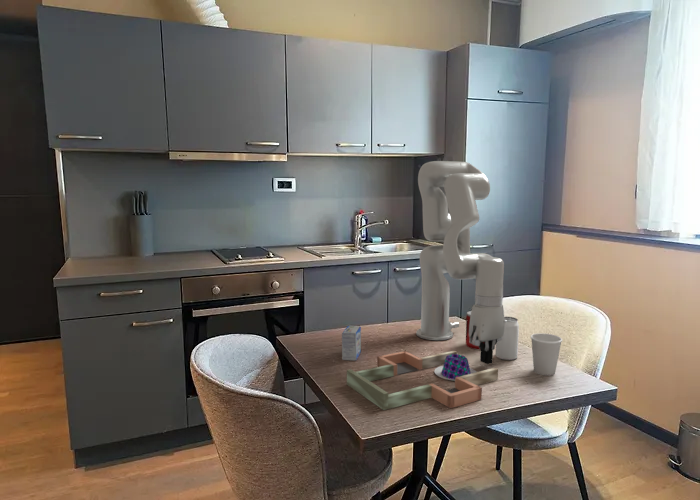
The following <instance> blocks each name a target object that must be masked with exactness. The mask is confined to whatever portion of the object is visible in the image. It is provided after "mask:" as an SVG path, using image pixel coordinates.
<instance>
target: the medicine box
mask: <svg viewBox="0 0 700 500" xmlns="http://www.w3.org/2000/svg"><path fill="white" fill-rule="evenodd" d="M361 339H362V327H361V326H359V325H347V326H346V327H345V329H344V330H343V331H342V332H341V359H342V361H351V362H352V361H354V362H356V361H357V360H358V358H359V356H360V354H361V351H362V350H361V349H362V348H361V347H362V340H361Z"/></svg>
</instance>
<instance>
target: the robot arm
mask: <svg viewBox="0 0 700 500" xmlns="http://www.w3.org/2000/svg"><path fill="white" fill-rule="evenodd" d="M417 175H418V176H417V183H418V184H417V185H418V189H419V192H420V196H421V201H422V202H421V203H422V228H423V229H422V230H423V235H424V238H425V239H426V240H427V241H430V242H443V244H440V245H439V244H438V245H428V246H426V247H424V248H423V249H422V250H421V251H420V253H419V266H420V271H421V305H420V306H421V307H420V309H421V311H420V312H421V314H420V315H421V316H420V328H418V329H417V330H416V336H417V337H419V338H421V339H423V340H428V341H445V340H450V339H452V338H453V337H454V333H453V331H452V329H456V328H459V326H460V324H459V322H458V321H455V322H454V321H453V322H451V321H450V295H451V293H450V288H451V287H450V283H449V281H448V279H447V278H446V276H445V275H444V274H447V273H448V275H449V277H450V278H452V279H454V280H473V279H475V292H474V294H475V295H474V304H473V305H472V308H471V310H470V311H471V316H470V324H469V337H470V338H473V340H472V344H473V345H475V346H479V348H480V349H479V350H480V353H479V354H480V358H479V362H481V363H484V364H485V365H490V364H493V357H494V355H493V354H494V353H493V352H494V350H496V343H497V342H498V341H500V340H501V339H502V336H503V335H504V317H505V311H504V305H503V299H504V275H505V273H504V271H505V270H504V269H505V262H504V260H503V259H502V258H499V257H495V256H492V255H490V254H488V253H484V252H483V253H482V252H477V253H474V252H473V253H472V252H471V230H470V229H471V228H473V226H476V224H477V223H478V222H479V221H480V214H479V210H478V207H477V202H476V201H481V200H485V199H487V198H488V197H489V194H490V192H491V184H490V181H489V179H488V177H487V176H486V174H485V173H483V172H482V171H481V170H480V169H478V168H477V167H476V166H474V165H473V164H472V163H470V162H467V161H452V160H451V161H450V160H449V161H447V160H434V161H427V162H425V163H424V164H422V166H420V169H419V171H418V174H417ZM441 188H443V189H444V191H443V190H442V189H441ZM483 342H484V343H483Z"/></svg>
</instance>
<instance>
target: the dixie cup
mask: <svg viewBox="0 0 700 500" xmlns="http://www.w3.org/2000/svg"><path fill="white" fill-rule="evenodd" d="M530 339H531V350H532V352H531V353H532V364H533V366H532V367H533V372H534V373H535V374H538V375H542V376H554V375H555V374H556V370H557V365H558V360H559V357H560V356H559V355H560V352H561V351H560V350H561V346H562V342H563V338H562V337H561V336H558V335H555V334H551V333H545V332H544V333H540V332H538V333H533V334H530Z"/></svg>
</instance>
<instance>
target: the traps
mask: <svg viewBox="0 0 700 500" xmlns="http://www.w3.org/2000/svg"><path fill="white" fill-rule="evenodd" d="M421 358H422V357H418V356H416V355H414V354H412V353H410V352H409V351H406V350H404V351H399V352H393V353H389V354H384V355H383V354H382V355H379V356H377V358H376V360H377V361H376V366H377V367H380V366H385V365H390V364H392V365H394V376H393V377H395V376H399V375H404V374H408V373H412V372H418V371H420V370H423V369H422V361H423V359H421ZM454 380H455V381H454V388H450V389H446V390H445V389H443V388H441V387H440V386H438V385H436V384H435V383H428V384H429V385H431V386H432V391H431V398H430V399H433V400H434V401H437V402H438V403H441V405H444V406H446V407H448V408H449V409H453V408H457V407H460V406H463V405H467V404H470V403H474V402H477V401H480V400H482V396H483V395H482V391H483V388H482V387H481V386H479V385H475V384H473V383H471V382H469V381H467V380H465V379H463V378H460V377H456V378H455V379H454Z"/></svg>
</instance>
